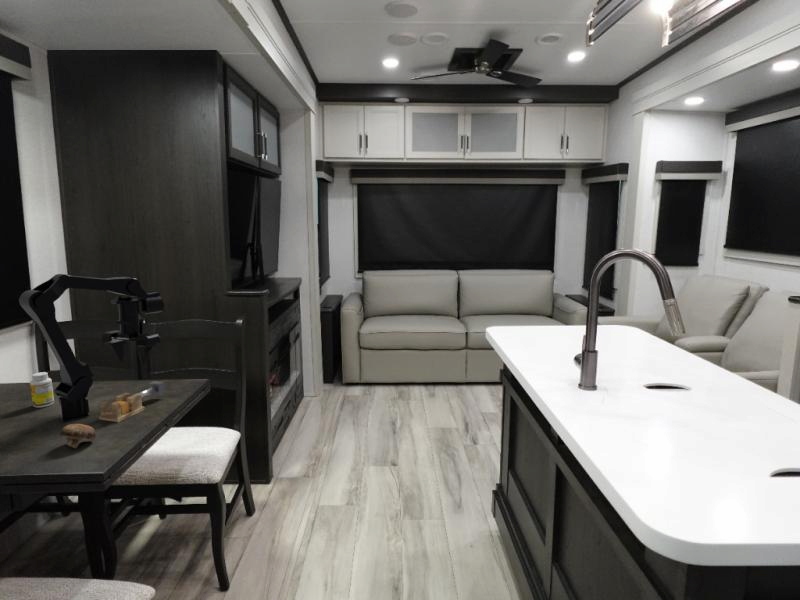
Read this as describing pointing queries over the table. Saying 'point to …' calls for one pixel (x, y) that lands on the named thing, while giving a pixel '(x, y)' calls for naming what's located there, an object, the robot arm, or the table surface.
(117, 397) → the bearing block
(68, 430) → the mushroom
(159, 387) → the shaft
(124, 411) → the block
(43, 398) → the supplement bottle
